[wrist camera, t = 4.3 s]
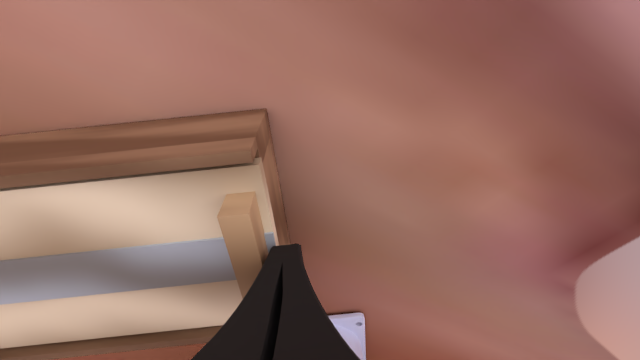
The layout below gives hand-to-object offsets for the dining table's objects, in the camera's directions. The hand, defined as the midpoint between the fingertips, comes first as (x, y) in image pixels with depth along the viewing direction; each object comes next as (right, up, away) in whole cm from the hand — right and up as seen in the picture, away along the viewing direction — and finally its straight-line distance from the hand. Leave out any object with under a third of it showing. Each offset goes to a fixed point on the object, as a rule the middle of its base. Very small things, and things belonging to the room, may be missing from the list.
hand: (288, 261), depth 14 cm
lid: (-9, 0, +1) cm, 9 cm away
